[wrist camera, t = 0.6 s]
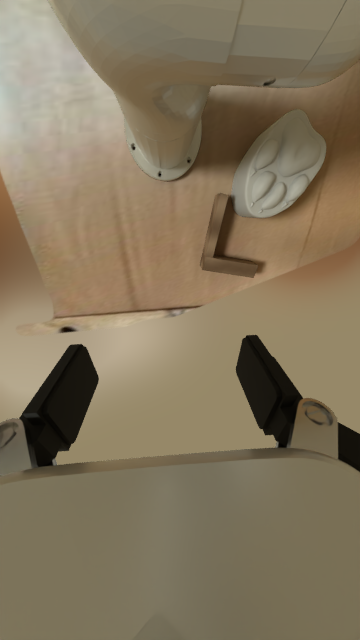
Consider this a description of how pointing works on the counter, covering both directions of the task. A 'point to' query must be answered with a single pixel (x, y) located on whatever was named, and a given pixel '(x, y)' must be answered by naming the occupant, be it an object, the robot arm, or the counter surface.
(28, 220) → the counter surface
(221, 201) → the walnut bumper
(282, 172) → the lumpy-topped squat cylinder
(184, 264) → the counter surface
